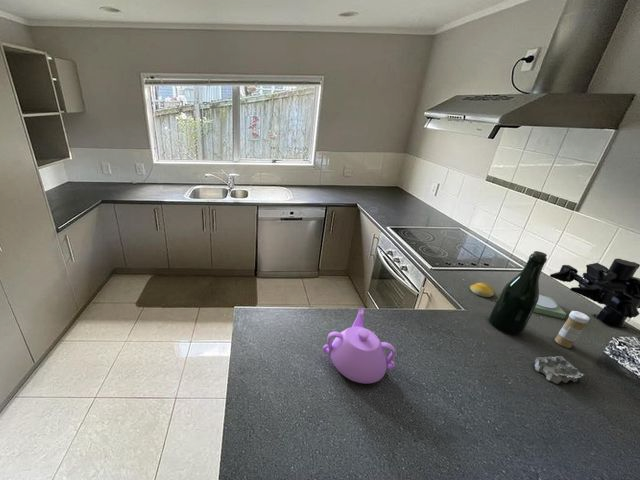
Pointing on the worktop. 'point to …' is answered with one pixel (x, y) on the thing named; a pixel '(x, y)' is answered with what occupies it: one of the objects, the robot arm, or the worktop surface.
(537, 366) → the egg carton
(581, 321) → the sprinkles bottle
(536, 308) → the scale
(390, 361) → the teapot
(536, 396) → the worktop surface
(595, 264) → the robot arm
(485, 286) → the bread roll
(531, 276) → the beer bottle
